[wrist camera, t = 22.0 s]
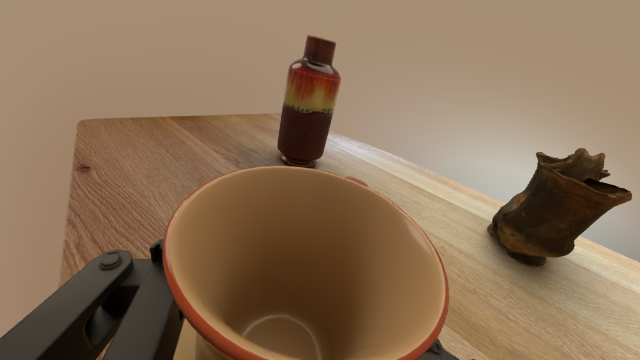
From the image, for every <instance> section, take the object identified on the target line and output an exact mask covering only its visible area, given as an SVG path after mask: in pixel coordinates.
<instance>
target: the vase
mask: <svg viewBox="0 0 640 360" xmlns="http://www.w3.org/2000/svg"><path fill="white" fill-rule="evenodd" d="M335 47H336V42H333V41H330V40H327V39H324V38H320V37H316V36H311V35H308V36H307V40H306V46H305V51H304V56H303V58H302V59H299V60H296V61H294V62H293V63H292V64H291V65H290V66H289V70H288V75H287V82H286V88H285V95H284V102H283V109H282V116H281V123H280V130H279V137H278V149H279V150H280V151H281V152H282V153H281V154H280V159H281V161H282V162H284V163H285V164H287V165H289V166H294V167H303V168H312V167H314V166H315V165H316V163H317V161H316V159H319V158H321V156H322V155H323V151H324V147H325V144H326V140H327V136H328V132H329V127H330V124H331V119H332V115H333V111H334V107H335V103H336V99H337V95H338V91H339V86H340V82H341V77H340V75H339V73H338V71H337V70H336V69H335V68H334V67H333V65H332V62H333V57H334V52H335Z"/></svg>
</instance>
